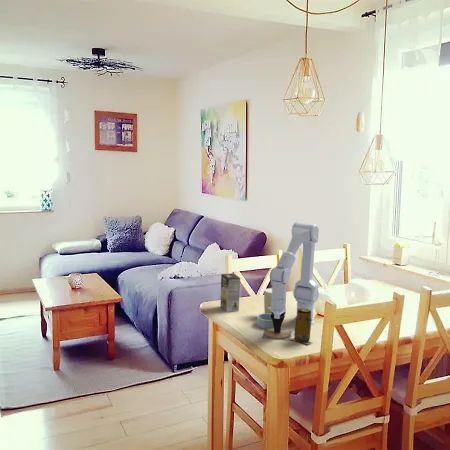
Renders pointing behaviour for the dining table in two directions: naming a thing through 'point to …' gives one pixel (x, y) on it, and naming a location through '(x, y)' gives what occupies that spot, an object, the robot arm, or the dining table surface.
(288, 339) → the mat
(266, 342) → the dining table surface
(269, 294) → the coffee cup
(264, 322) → the bowl
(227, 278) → the coffee box
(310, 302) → the robot arm
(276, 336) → the lid
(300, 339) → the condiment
